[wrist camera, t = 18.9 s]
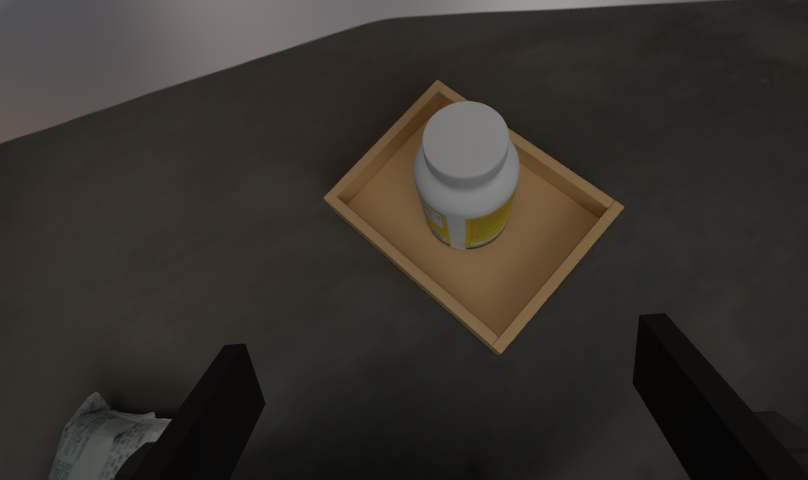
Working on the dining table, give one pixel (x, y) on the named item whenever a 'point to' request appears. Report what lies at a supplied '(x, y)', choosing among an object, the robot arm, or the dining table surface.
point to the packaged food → (101, 440)
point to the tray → (487, 266)
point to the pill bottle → (466, 174)
